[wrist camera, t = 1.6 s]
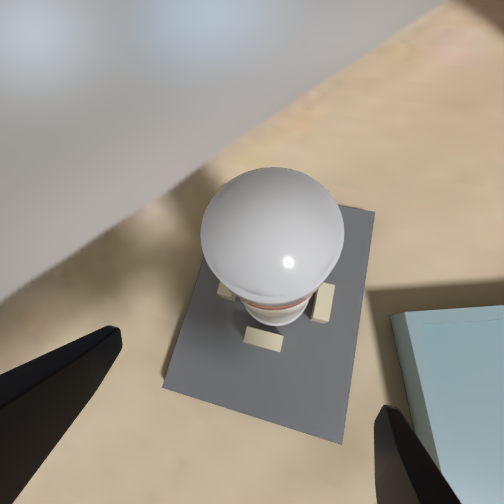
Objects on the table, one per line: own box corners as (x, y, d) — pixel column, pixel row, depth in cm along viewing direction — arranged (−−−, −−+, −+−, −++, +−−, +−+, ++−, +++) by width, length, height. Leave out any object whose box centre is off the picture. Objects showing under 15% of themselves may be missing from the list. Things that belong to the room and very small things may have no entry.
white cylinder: (311, 324, 19) (356, 294, 8) (245, 329, 20) (200, 305, 8) (303, 261, 21) (332, 160, 10) (242, 266, 21) (200, 174, 10)
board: (338, 439, 18) (348, 455, 15) (167, 385, 20) (150, 391, 17) (371, 217, 23) (383, 200, 20) (229, 191, 25) (223, 172, 22)
